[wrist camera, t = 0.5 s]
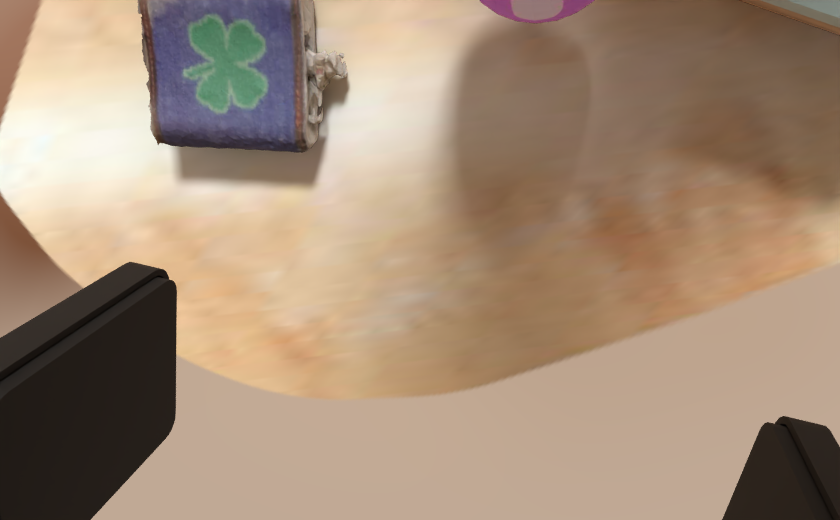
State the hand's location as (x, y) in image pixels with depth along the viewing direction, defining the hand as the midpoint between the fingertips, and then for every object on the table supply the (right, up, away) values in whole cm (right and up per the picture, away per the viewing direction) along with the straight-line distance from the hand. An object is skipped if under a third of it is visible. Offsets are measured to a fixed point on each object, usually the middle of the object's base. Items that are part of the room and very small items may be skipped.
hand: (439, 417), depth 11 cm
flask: (-14, +14, +30) cm, 36 cm away
